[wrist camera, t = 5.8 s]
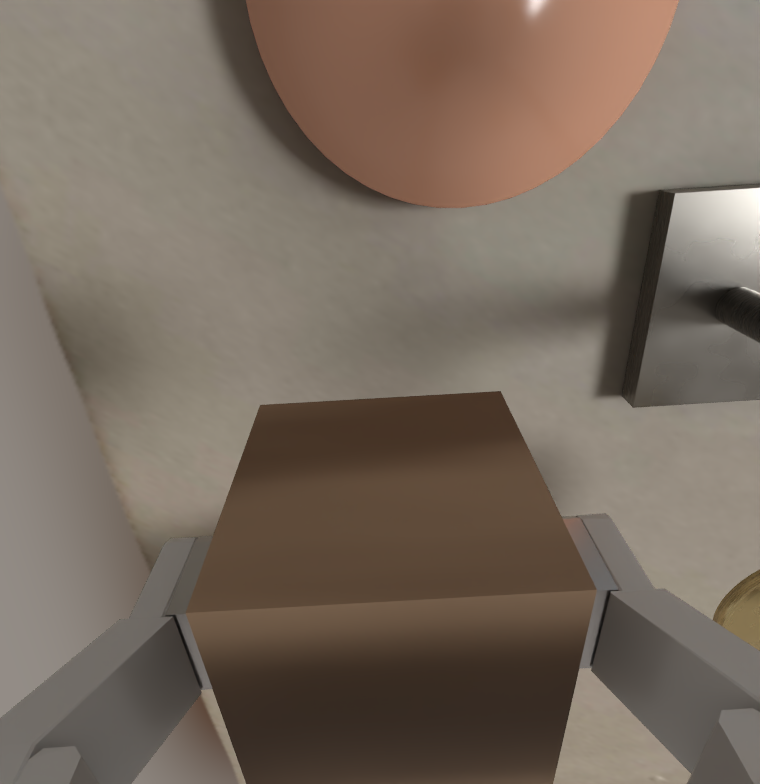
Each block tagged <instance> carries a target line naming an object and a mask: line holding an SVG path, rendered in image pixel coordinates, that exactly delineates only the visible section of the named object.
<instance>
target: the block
mask: <svg viewBox="0 0 760 784" xmlns="http://www.w3.org/2000/svg"><path fill="white" fill-rule="evenodd" d="M596 592H597V589H596V587H595V585H594V583H593V581H592V579H591V576H590V574H589V572H588V570H587V568H586V566H585V564H584V562H583V560H582V558H581V556H580V554H579V552H578V550H577V548H576V546H575V544H574V541H573V539H572V537H571V535H570V533H569V531H568V529H567V527H566V525H565V523H564V521H563V519H562V517H561V515H560V513H559V511H558V509H557V507H556V504H555V502H554V500H553V498H552V496H551V494H550V492H549V490H548V488H547V486H546V484H545V482H544V480H543V478H542V476H541V474H540V472H539V470H538V467H537V465H536V463H535V461H534V459H533V457H532V455H531V453H530V451H529V449H528V447H527V445H526V443H525V441H524V439H523V437H522V435H521V432H520V430H519V428H518V426H517V424H516V422H515V420H514V418H513V416H512V414H511V412H510V410H509V408H508V406H507V404H506V402H505V400H504V398H503V395H502V393H501V391H497V392H480V393H462V394H445V395H427V396H410V397H392V398H375V399H358V400H340V401H323V402H305V403H288V404H270V405H260V407H259V410H258V413H257V415H256V418H255V421H254V424H253V427H252V429H251V432H250V435H249V438H248V440H247V443H246V446H245V449H244V452H243V454H242V457H241V460H240V463H239V466H238V468H237V471H236V474H235V477H234V479H233V482H232V485H231V488H230V491H229V493H228V496H227V499H226V502H225V504H224V507H223V510H222V513H221V516H220V518H219V521H218V524H217V527H216V529H215V532H214V535H213V538H212V541H211V543H210V546H209V549H208V552H207V554H206V557H205V560H204V563H203V566H202V568H201V571H200V574H199V577H198V580H197V582H196V585H195V588H194V591H193V593H192V596H191V599H190V602H189V605H188V607H187V610H186V616H187V619H188V622H189V624H190V627H191V630H192V633H193V636H194V638H195V641H196V644H197V647H198V650H199V652H200V655H201V658H202V661H203V664H204V666H205V669H206V672H207V675H208V678H209V680H210V683H211V686H212V689H213V692H214V694H215V697H216V700H217V703H218V706H219V708H220V711H221V714H222V717H223V720H224V722H225V725H226V728H227V731H228V734H229V736H230V739H231V742H232V745H233V748H234V750H235V753H236V756H237V759H238V762H239V764H240V767H241V770H242V773H243V776H244V778H245V781H246V784H553V781H554V777H555V773H556V768H557V764H558V759H559V755H560V751H561V746H562V742H563V737H564V733H565V729H566V724H567V720H568V715H569V711H570V707H571V702H572V698H573V693H574V689H575V685H576V680H577V676H578V671H579V667H580V663H581V658H582V654H583V649H584V645H585V641H586V636H587V632H588V627H589V623H590V619H591V614H592V610H593V605H594V601H595V597H596Z"/></svg>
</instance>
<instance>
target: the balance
mask: <svg viewBox="0 0 760 784" xmlns="http://www.w3.org/2000/svg"><path fill="white" fill-rule="evenodd" d="M622 397H623V398H624V399H625V400H626V401H627V402H628V403H629V404H630V405H631V406H632V407H633V408H635V407H650V406H666V405H682V404H698V403H714V402H730V401H746V400H760V184H749V185H734V186H718V187H702V188H687V189H671V190H659V195H658V201H657V206H656V212H655V217H654V223H653V228H652V233H651V239H650V244H649V250H648V255H647V261H646V266H645V272H644V277H643V283H642V288H641V294H640V299H639V305H638V310H637V316H636V321H635V326H634V332H633V337H632V343H631V348H630V354H629V359H628V365H627V370H626V376H625V381H624V387H623V392H622ZM713 621H715V622H716V623H718V624H719V625H721V626H722V627H724V628H725V629H727V630H728V631H730V632H731V633H733V634H734V635H736V636H737V637H739V638H741V639H742V640H744V641H745V642H747V643H748V644H750V645H751V646H753V647H754V648H756V649H757V650H759V651H760V570H758V571H756V572H755V573H753V574H751V575H750V576H748V577H747V578H745V579H744V580H742V581H741V582H740V583H739V584H737V585H736V586H735V587H734V588H733V589H732V590H731V591H730V592H729V593H728V594H727V595H726V596H725V597H724V599H723V600H722V601H721V603H720V604H719V606H718V607H717V610H716V612H715V614H714V617H713Z"/></svg>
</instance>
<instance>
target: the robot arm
mask: <svg viewBox="0 0 760 784" xmlns="http://www.w3.org/2000/svg"><path fill="white" fill-rule="evenodd" d="M562 519H563V521H564V523H565V525H566V527H567V529H568V531H569V533H570V535H571V537H572V539H573V541H574V544H575V546H576V548H577V550H578V552H579V554H580V556H581V558H582V560H583V562H584V564H585V566H586V568H587V570H588V572H589V574H590V576H591V579H592V581H593V583H594V585H595V587H596V589H597V592H596V597H595V601H594V605H593V610H592V614H591V619H590V623H589V627H588V632H587V636H586V641H585V645H584V649H583V654H582V658H581V663H580V667H579V668H592V670H591V671H592V672H593V673H594V674H595V675H596V676H597V677H598V678H599V679H600V680H601V681H602V682H603V683H604V684H605V685H606V686H607V687H608V688H609V690H610V691H611V692H612V693H613V694H614V695H615V696H616V697H617V698H618V699H619V700H620V701H621V702H622V703H623V704H624V705H625V706H626V707H627V708H628V709H629V710H630V711H631V712H632V713H633V714H634V715H635V716H636V717H637V718H638V719H639V720H640V721H641V722H642V724H643V725H644V726H645V727H646V728H647V729H648V730H649V731H650V732H651V733H652V734H653V735H654V736H655V737H656V738H657V739H658V740H659V741H660V742H661V743H662V744H663V745H664V746H665V747H666V748H667V749H668V750H669V751H670V752H671V753H672V754H673V755H674V756H675V758H676V759H677V760H678V761H679V762H680V763H681V764H682V765H683V766H684V767H685V768H686V769H687V770H688V771H689V772H690V773H691V776H690V778H689V780H688V782H687V784H760V651H759V650H757V649H756V648H754V647H753V646H751V645H750V644H748V643H747V642H745V641H744V640H742V639H741V638H739V637H737V636H736V635H734V634H733V633H731V632H730V631H728V630H727V629H725V628H724V627H722V626H721V625H719V624H718V623H716V622H715V621H713V620H712V619H710V618H709V617H707V616H705V615H704V614H702V613H701V612H699V611H698V610H696V609H695V608H693V607H692V606H690V605H689V604H687V603H686V602H684V601H683V600H681V599H680V598H678V597H676V596H675V595H673V594H672V593H670V592H669V591H667V590H666V589H655V588H654V586H653V585H652V583H651V581H650V580H649V578H648V577H647V575H646V573H645V572H644V570H643V568H642V567H641V565H640V564H639V562H638V560H637V559H636V557H635V556H634V554H633V552H632V551H631V549H630V548H629V546H628V544H627V543H626V541H625V539H624V538H623V536H622V535H621V533H620V531H619V530H618V528H617V527H616V525H615V523H614V522H613V520H612V519H611V517H610V516H608V515H607V514H605V513H604V514H590V515H577V516H563V517H562ZM212 538H213V536H201V537H191V538H170V539H169V540H168V541H167V542H166V543H165V544H164V545H163V547H162V549H161V551H160V554H159V556H158V558H157V560H156V562H155V564H154V566H153V568H152V570H151V573H150V575H149V577H148V579H147V581H146V583H145V586H144V587H143V590H142V592H141V594H140V596H139V598H138V600H137V602H136V605H135V607H134V609H133V611H132V613H131V615H130V617H129V619H119V620H118V621H117V622H116V623H115V624H114V625H112V626H111V627H110V628H109V629H108V630H106V631H105V632H104V633H103V634H101V635H100V636H99V637H98V638H97V639H95V640H94V641H93V642H92V643H90V644H89V645H88V646H87V647H86V648H85V649H84V650H82V651H81V652H80V653H78V654H77V655H76V656H75V657H74V658H72V659H71V660H70V661H69V662H68V663H66V664H65V665H64V666H63V667H62V668H60V669H59V670H58V671H57V672H55V673H54V674H53V675H52V676H51V677H49V678H48V679H47V680H46V681H45V682H44V683H42V684H41V685H40V686H38V687H37V688H36V689H35V690H34V691H33V692H31V693H30V694H29V695H28V696H26V697H25V698H24V699H23V700H22V701H21V702H19V703H18V704H17V705H15V706H14V707H13V708H12V709H11V710H10V711H8V712H7V713H6V714H5V715H3V716H2V717H1V718H0V784H131V783H132V782H133V781H134V780H135V778H136V777H137V775H138V774H139V773H140V772H141V771H142V769H143V768H144V767H145V766H146V764H147V763H148V762H149V760H150V759H151V758H152V756H153V755H154V754H155V753H156V751H157V750H158V749H159V747H160V746H161V745H162V744H163V742H164V741H165V740H166V738H167V737H168V736H169V735H170V733H171V732H172V731H173V729H174V728H175V727H176V726H177V724H178V723H179V722H180V720H181V719H182V718H183V717H184V715H185V714H186V713H187V711H188V710H189V709H190V707H191V706H192V705H193V704H194V702H195V701H196V700H197V698H198V697H199V696H200V695H201V690H205V689H212V686H211V683H210V680H209V678H208V675H207V672H206V669H205V666H204V664H203V661H202V658H201V655H200V652H199V650H198V647H197V644H196V641H195V638H194V636H193V633H192V630H191V627H190V624H189V622H188V619H187V616H186V610H187V607H188V605H189V602H190V599H191V596H192V593H193V591H194V588H195V585H196V582H197V580H198V577H199V574H200V571H201V568H202V566H203V563H204V560H205V557H206V554H207V552H208V549H209V546H210V543H211V541H212Z"/></svg>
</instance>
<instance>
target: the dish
mask: <svg viewBox="0 0 760 784" xmlns="http://www.w3.org/2000/svg"><path fill="white" fill-rule="evenodd" d="M678 2H679V0H246V3H247V8H248V13H249V19H250V23H251V26H252V30H253V33H254V36H255V39H256V43H257V46H258V49H259V52H260V55H261V58H262V60H263V62H264V65H265V67H266V69H267V72H268V74H269V76H270V79H271V81H272V83H273V86H274V87H275V89H276V91H277V93H278V94H279V96H280V98H281V100H282V101H283V103H284V105H285V107H286V108H287V110H288V112H289V113H290V115H291V116H292V117H293V119H294V120H295V122H296V123H297V124H298V126H299V127H300V128H301V130H302V131H303V132H304V134H305V135H306V136H307V137H308V138H309V140H310V141H311V142H312V143H313V144H314V145H315V146H316V147H317V148H318V149H319V150H320V151H321V152H322V153H323V154H324V156H325V157H327V158H328V159H329V160H330V161H332V162H333V163H334V164H335V165H336V166H338V167H339V168H340V169H341V170H342V171H344V172H345V173H346V174H348V175H349V176H351V177H353V178H354V179H356V180H357V181H359V182H360V183H362V184H364V185H365V186H367V187H369V188H371V189H373V190H375V191H378V192H380V193H382V194H384V195H387V196H389V197H391V198H395V199H398V200H401V201H405V202H408V203H412V204H416V205H423V206H430V207H437V208H464V207H472V206H480V205H487V204H490V203H494V202H498V201H501V200H505V199H509V198H512V197H514V196H517V195H519V194H521V193H524V192H526V191H529V190H531V189H533V188H535V187H537V186H539V185H541V184H542V183H544V182H546V181H548V180H549V179H551V178H553V177H555V176H556V175H558V174H559V173H561V172H562V171H563V170H565V169H566V168H568V167H569V166H570V165H572V164H573V163H574V162H576V161H577V160H578V159H580V158H581V157H582V156H583V155H584V154H585V153H586V152H587V151H588V150H589V149H591V148H592V147H593V146H594V145H595V144H596V143H597V142H598V141H599V140H600V139H601V138H602V137H603V136H604V135H605V134H606V132H607V131H608V130H609V129H610V128H611V127H612V126H613V124H614V123H615V122H616V121H617V120H618V119H619V118H620V116H621V115H622V114H623V112H624V111H625V109H626V108H627V107H628V105H629V104H630V102H631V101H632V99H633V98H634V97H635V95H636V94H637V92H638V91H639V89H640V88H641V86H642V84H643V82H644V80H645V79H646V77H647V75H648V73H649V72H650V70H651V68H652V66H653V64H654V63H655V61H656V59H657V56H658V54H659V52H660V50H661V47H662V45H663V43H664V40H665V38H666V36H667V34H668V31H669V29H670V26H671V23H672V20H673V17H674V14H675V11H676V8H677V5H678Z"/></svg>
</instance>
